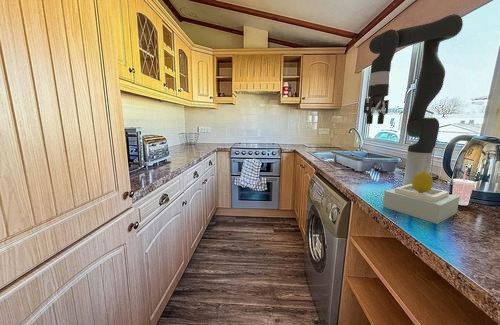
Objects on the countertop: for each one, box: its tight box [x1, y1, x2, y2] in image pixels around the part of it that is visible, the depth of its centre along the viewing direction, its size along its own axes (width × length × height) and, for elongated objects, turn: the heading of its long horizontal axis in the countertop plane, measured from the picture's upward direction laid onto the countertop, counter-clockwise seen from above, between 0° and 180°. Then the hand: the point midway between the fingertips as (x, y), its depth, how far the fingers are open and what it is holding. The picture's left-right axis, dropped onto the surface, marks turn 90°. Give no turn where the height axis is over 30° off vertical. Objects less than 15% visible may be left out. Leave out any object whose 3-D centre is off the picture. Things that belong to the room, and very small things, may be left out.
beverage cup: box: [451, 167, 476, 206], centre depth 81 cm, size 6×6×14 cm
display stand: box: [382, 184, 460, 225], centre depth 75 cm, size 16×16×7 cm
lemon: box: [412, 171, 434, 193], centre depth 74 cm, size 6×6×8 cm
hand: (374, 124), depth 92 cm, fingers open, 8 cm apart
